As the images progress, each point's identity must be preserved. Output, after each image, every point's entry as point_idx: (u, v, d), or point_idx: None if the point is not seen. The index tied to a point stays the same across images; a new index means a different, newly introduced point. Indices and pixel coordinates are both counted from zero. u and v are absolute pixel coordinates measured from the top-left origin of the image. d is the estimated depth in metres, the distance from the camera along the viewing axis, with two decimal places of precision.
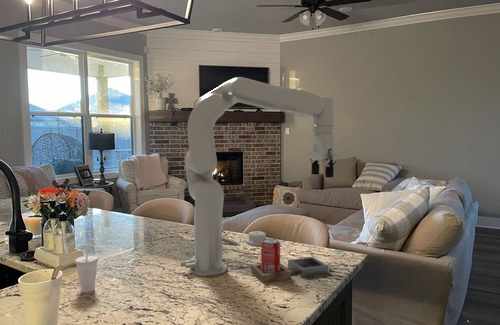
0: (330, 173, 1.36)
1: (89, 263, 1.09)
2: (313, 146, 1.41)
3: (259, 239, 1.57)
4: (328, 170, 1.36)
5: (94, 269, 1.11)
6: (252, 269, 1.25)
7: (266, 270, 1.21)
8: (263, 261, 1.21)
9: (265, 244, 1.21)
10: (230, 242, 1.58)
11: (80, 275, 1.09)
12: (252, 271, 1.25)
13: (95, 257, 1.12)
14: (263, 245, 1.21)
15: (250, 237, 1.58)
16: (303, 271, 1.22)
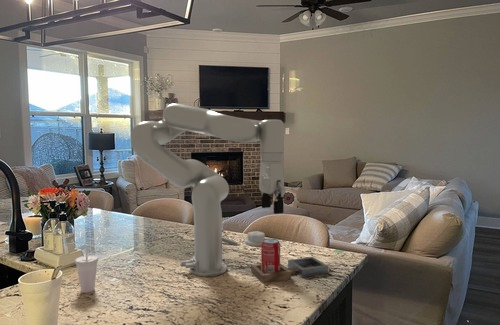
0: (279, 209, 1.16)
1: (89, 263, 1.09)
2: (261, 176, 1.22)
3: (258, 239, 1.56)
4: (277, 205, 1.16)
5: (94, 269, 1.11)
6: (252, 269, 1.25)
7: (266, 270, 1.21)
8: (263, 261, 1.21)
9: (265, 244, 1.21)
10: (230, 242, 1.58)
11: (80, 275, 1.09)
12: (252, 271, 1.25)
13: (95, 257, 1.12)
14: (263, 245, 1.21)
15: (249, 237, 1.58)
16: (303, 271, 1.22)
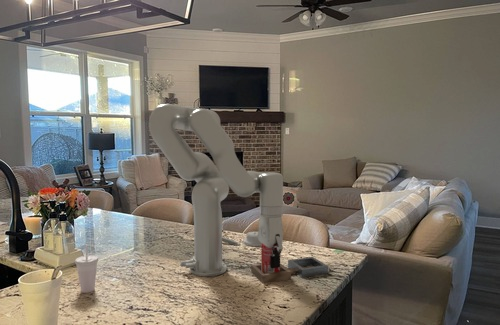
0: (276, 264, 1.19)
1: (89, 263, 1.09)
2: (260, 227, 1.23)
3: (257, 239, 1.56)
4: (273, 260, 1.19)
5: (94, 269, 1.11)
6: (252, 269, 1.25)
7: (266, 270, 1.21)
8: (263, 261, 1.21)
9: None
10: (230, 242, 1.58)
11: (80, 275, 1.09)
12: (252, 271, 1.25)
13: (95, 257, 1.12)
14: (263, 245, 1.21)
15: (248, 237, 1.57)
16: (303, 271, 1.22)
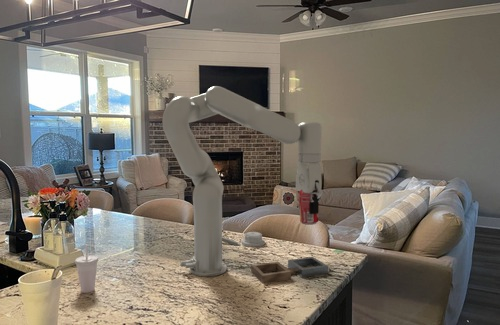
0: (315, 209, 1.23)
1: (89, 263, 1.09)
2: (299, 176, 1.27)
3: (255, 240, 1.55)
4: (312, 206, 1.23)
5: (94, 269, 1.11)
6: (252, 269, 1.25)
7: (305, 217, 1.24)
8: (302, 208, 1.25)
9: None
10: (230, 242, 1.57)
11: (80, 275, 1.09)
12: (252, 271, 1.25)
13: (95, 257, 1.12)
14: (301, 193, 1.25)
15: (246, 238, 1.57)
16: (303, 271, 1.22)
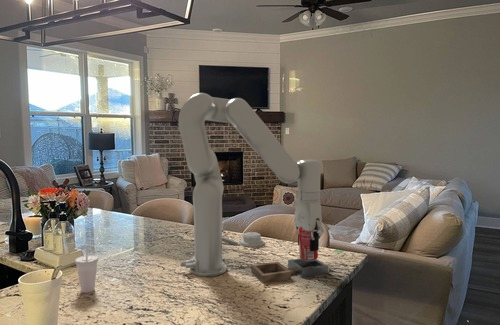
0: (315, 247, 1.24)
1: (89, 263, 1.09)
2: (298, 213, 1.28)
3: (254, 240, 1.55)
4: (313, 243, 1.24)
5: (94, 269, 1.11)
6: (252, 269, 1.25)
7: (306, 254, 1.25)
8: (302, 245, 1.26)
9: None
10: (230, 242, 1.57)
11: (80, 275, 1.09)
12: (252, 271, 1.25)
13: (95, 257, 1.12)
14: (302, 230, 1.25)
15: (244, 238, 1.56)
16: (303, 271, 1.22)
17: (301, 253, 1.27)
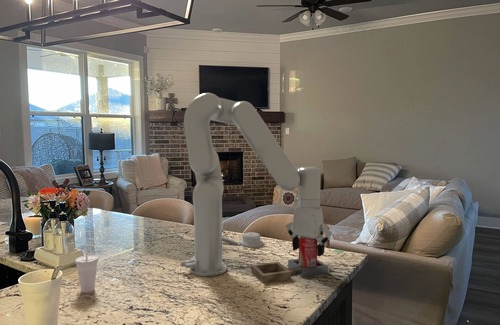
0: (323, 251, 1.24)
1: (89, 263, 1.09)
2: (299, 221, 1.26)
3: (253, 240, 1.55)
4: (321, 248, 1.24)
5: (94, 269, 1.11)
6: (252, 269, 1.25)
7: (309, 265, 1.26)
8: (305, 256, 1.26)
9: (307, 239, 1.25)
10: (231, 242, 1.57)
11: (80, 275, 1.09)
12: (252, 271, 1.25)
13: (95, 257, 1.12)
14: (305, 241, 1.26)
15: (244, 238, 1.56)
16: (303, 271, 1.22)
17: (303, 264, 1.26)
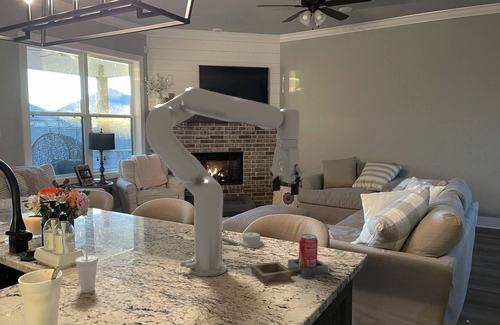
0: (296, 191, 1.27)
1: (89, 263, 1.09)
2: (276, 161, 1.31)
3: (253, 240, 1.55)
4: (294, 187, 1.27)
5: (94, 269, 1.11)
6: (252, 269, 1.25)
7: (309, 265, 1.25)
8: (305, 257, 1.26)
9: (307, 240, 1.25)
10: (230, 242, 1.57)
11: (80, 275, 1.09)
12: (252, 271, 1.25)
13: (95, 257, 1.12)
14: (305, 241, 1.25)
15: (244, 239, 1.56)
16: (303, 271, 1.22)
17: (303, 265, 1.26)
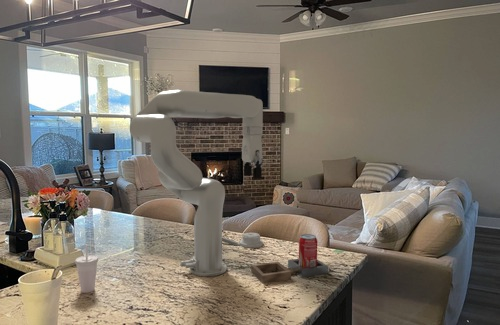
0: (257, 174, 1.37)
1: (89, 263, 1.09)
2: (243, 147, 1.42)
3: (253, 240, 1.54)
4: (255, 171, 1.37)
5: (94, 269, 1.11)
6: (252, 269, 1.25)
7: (309, 265, 1.25)
8: (305, 257, 1.26)
9: (307, 240, 1.25)
10: (230, 242, 1.57)
11: (80, 275, 1.09)
12: (252, 271, 1.25)
13: (95, 257, 1.12)
14: (305, 241, 1.25)
15: (244, 239, 1.56)
16: (303, 271, 1.22)
17: (303, 265, 1.26)
